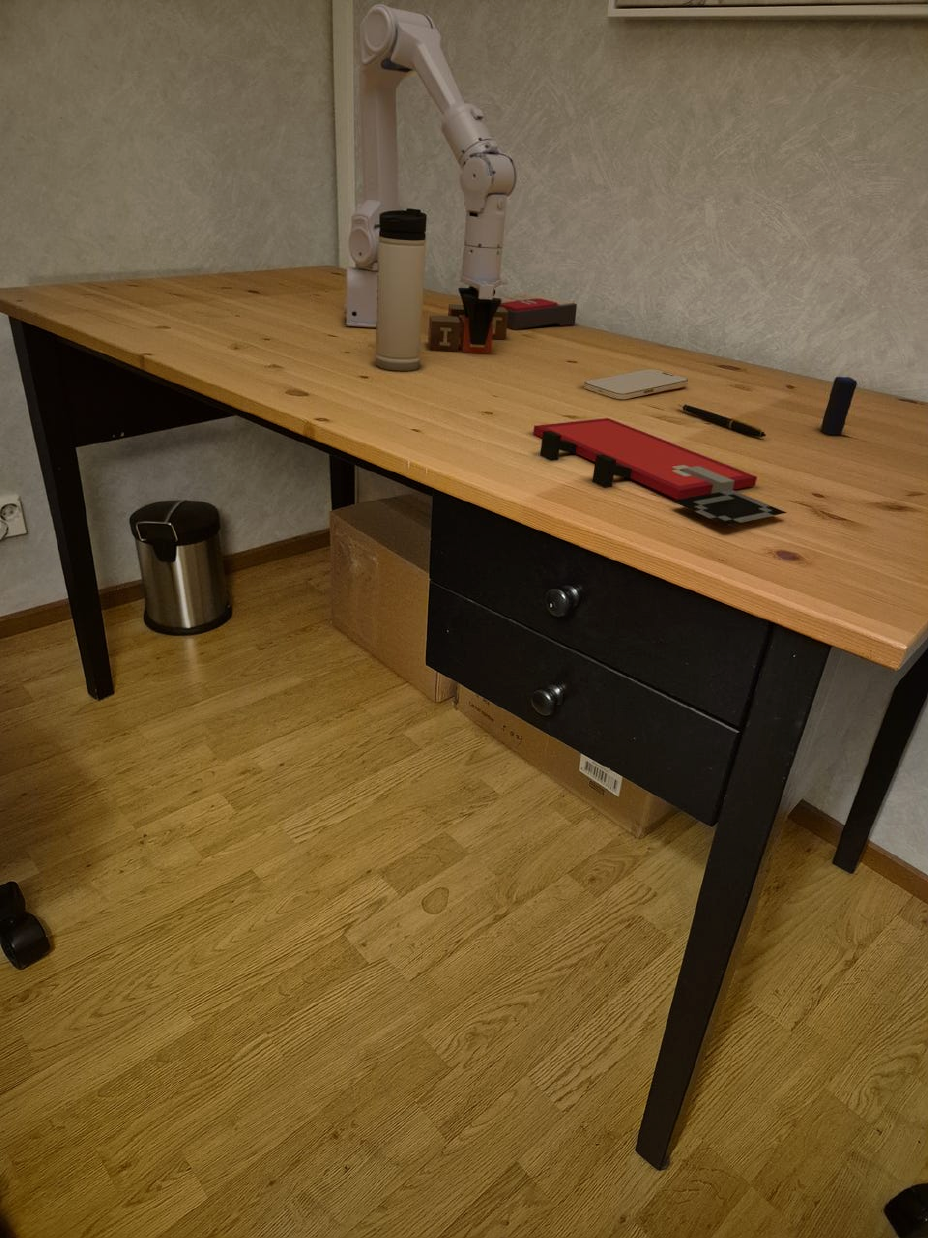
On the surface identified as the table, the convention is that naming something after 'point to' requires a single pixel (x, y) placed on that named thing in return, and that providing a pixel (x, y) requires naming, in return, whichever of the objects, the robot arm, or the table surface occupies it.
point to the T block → (500, 324)
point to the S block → (466, 342)
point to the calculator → (537, 310)
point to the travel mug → (400, 289)
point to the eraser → (838, 405)
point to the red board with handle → (657, 467)
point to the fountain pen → (725, 421)
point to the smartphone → (635, 383)
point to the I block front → (444, 333)
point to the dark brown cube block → (456, 312)
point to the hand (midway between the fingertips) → (475, 340)
